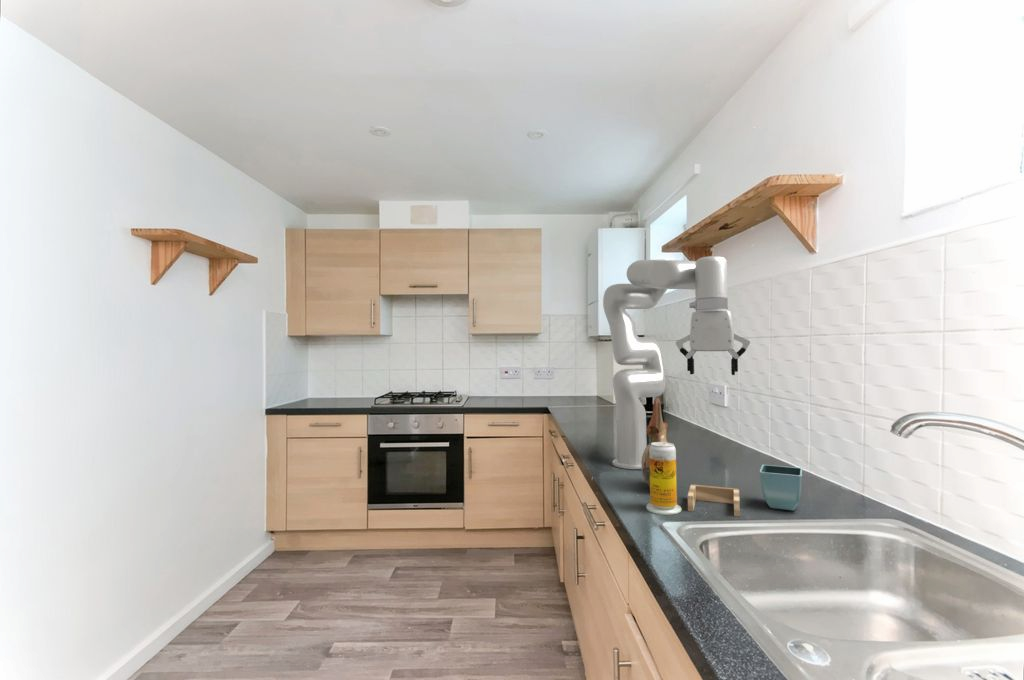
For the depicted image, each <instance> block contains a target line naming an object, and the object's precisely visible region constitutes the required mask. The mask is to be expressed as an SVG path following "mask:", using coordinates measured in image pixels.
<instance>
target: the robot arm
mask: <svg viewBox="0 0 1024 680" xmlns="http://www.w3.org/2000/svg"><path fill="white" fill-rule="evenodd" d="M626 278H627V280H628V281H629V283H615V284H611V285H610V286H608V287H607V288H606V289H605V291H604V293H603V298H602V307H603V311H604V315H605V317H606V319H607V322H608V326H609V331H610V339H611V346H612V347H611V348H612V352H613V358H614V361H615V363H617V364H618V365H620V366H643V368H624V369H621V370H618V371H617V372H615V374H614V375H613V377H612V388H613V393H614V398H615V400H614V401H615V412H616V415H615V416H616V457H617V458H615V459H613V460H612V465H613V466H614V467H617V468H619V469H620V468H621V469H625V470H627V469H628V470H642V467H641V462H642V456H643V452H644V450H645V448H646V447H647V446H648V444H647V443H648V442H647V413H646V412H647V411H646V409H645V406H644V405H643V403H642V402H641V400H640V399H641V398H657V397H659V396H662V394H664V393H665V391H666V387H667V381H666V373H665V366H664V358H663V354H662V348H661V346H660V344H659V342H658V341H657V340H656V339H655V338H654V337H649V336H638V333H637V327H636V323H635V321H634V320H633V317H631V315H630V314H629V313H628V312H627V311H626V310H650V309H652V308H654V307H655V306H656V305H657V304H658V303H659V301H660V300H661V299H662V297H663V296H664V295H665V293H666V292H668V290H695V299H694V301H692V302H689V308H691V309H694V310H695V311H693V312H692V313H691V318H690V328H689V332H690V333H689V334H688V335H687V336H684V337H682V338H680V339H678V340H676V342H675V345H676V346H677V348H678V350H679V353H681V354H682V355H683V356H684V357H685V358H686V359H687V360H686V363H687V365H686V366H687V367H686V368H687V369H686V370H687V372H689V375H694V374H695V359H694V355H695V354H696V353H697V352H728V353H729V354H730V356H732V357H731V362H730V364H731V367H730V370H731V372H730V373H731V375H732V376H735V375H736V374H735V373H737V372H739V367H738V366H739V360H738V359H739V358H740V357H741V356H742V355H744V354H745V352H746V351H747V349H748V347H749V345H750V344H751V341H750V340H749V339H746V338H745V337H741V336H740V335H738V334H735V333H734V331H735V330H734V320H733V315H732V312H731V310H729V309H728V308H729V306H728V304H729V302H728V299H729V298H728V295H729V294H728V290H729V289H728V261H727V259H726V258H725V257H724V256H720V255H719V256H718V255H714V256H713V255H709V256H703V257H700V258H698V259H696V261H695V260H677V259H676V260H671V259H670V260H666V259H639V260H635V261H634V262H632V263H631V264H629V266H628V268H627V269H626ZM735 341H737V342H739V343H741V344H742V346H741V347H740V349H738V351H736V350H735V349H734V347H735ZM687 342H689V348H690V350H689V351H688V350H687V349H686V348H685V347H684V343H685V344H686V343H687Z"/></svg>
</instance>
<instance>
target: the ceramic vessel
mask: <svg viewBox="0 0 1024 680" xmlns="http://www.w3.org/2000/svg"><path fill="white" fill-rule="evenodd" d="M661 403H662V402H661V399H660V398H659V397H654V401H653V406H652V414H651V419H650V421H649V422H648V426H647V427H646V435H647V436H648V440H649V444H647V447H646V448H645V450H644V452H643V456H642V462H641V467H642V469H641V473H642V476H643V479H644V481H645V483H646V484H647V485H648V487H649V488H650V455H649V448H650V446H651V443H653V442H668V440H667V429H668V423H667V422H665V421H663V420H664V419H663V414H662V405H661Z"/></svg>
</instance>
